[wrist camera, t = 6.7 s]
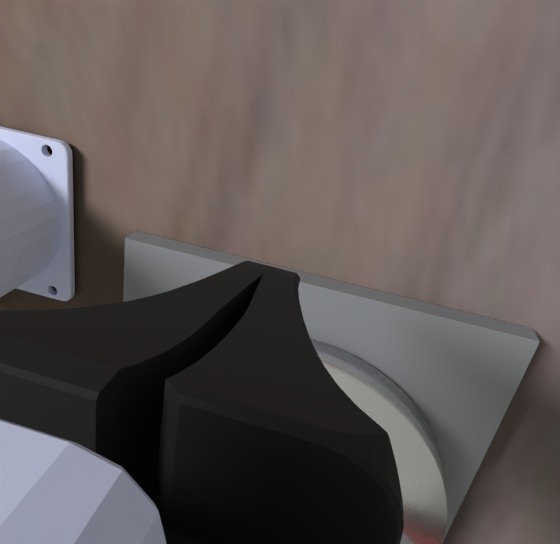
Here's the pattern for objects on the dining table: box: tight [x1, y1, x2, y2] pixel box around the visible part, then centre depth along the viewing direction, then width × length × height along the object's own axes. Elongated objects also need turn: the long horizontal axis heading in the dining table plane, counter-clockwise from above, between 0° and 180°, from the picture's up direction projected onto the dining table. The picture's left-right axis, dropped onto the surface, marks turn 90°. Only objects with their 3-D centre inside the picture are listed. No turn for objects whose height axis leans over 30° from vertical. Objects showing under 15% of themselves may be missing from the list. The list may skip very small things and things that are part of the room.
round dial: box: [311, 339, 447, 544], centre depth 23 cm, size 16×16×4 cm
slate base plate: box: [123, 231, 540, 543], centre depth 25 cm, size 18×21×1 cm
